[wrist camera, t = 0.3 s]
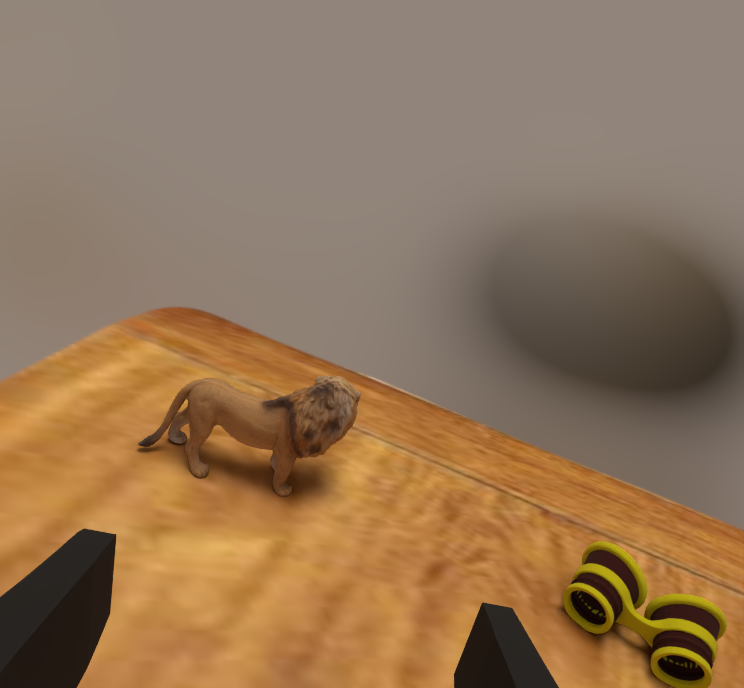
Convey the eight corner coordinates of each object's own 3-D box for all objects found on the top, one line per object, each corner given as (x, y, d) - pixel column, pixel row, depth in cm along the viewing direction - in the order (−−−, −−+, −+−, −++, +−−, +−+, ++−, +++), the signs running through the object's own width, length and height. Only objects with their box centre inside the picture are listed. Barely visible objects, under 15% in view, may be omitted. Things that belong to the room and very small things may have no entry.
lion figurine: (334, 461, 51) (363, 366, 47) (336, 507, 46) (369, 406, 42) (145, 429, 48) (159, 326, 44) (127, 476, 43) (141, 364, 39)
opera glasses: (548, 617, 44) (573, 575, 41) (574, 567, 47) (599, 525, 44) (688, 713, 40) (727, 674, 37) (705, 650, 44) (742, 610, 41)
